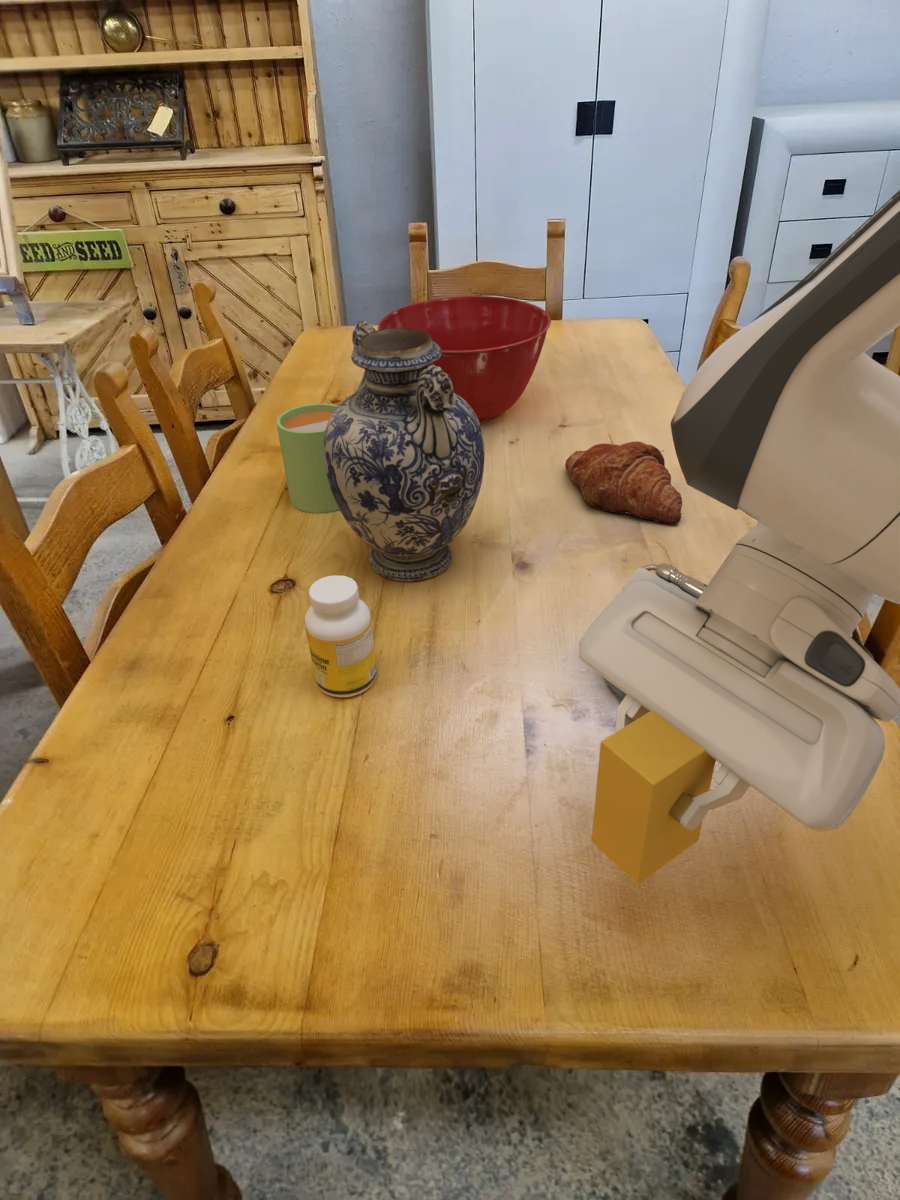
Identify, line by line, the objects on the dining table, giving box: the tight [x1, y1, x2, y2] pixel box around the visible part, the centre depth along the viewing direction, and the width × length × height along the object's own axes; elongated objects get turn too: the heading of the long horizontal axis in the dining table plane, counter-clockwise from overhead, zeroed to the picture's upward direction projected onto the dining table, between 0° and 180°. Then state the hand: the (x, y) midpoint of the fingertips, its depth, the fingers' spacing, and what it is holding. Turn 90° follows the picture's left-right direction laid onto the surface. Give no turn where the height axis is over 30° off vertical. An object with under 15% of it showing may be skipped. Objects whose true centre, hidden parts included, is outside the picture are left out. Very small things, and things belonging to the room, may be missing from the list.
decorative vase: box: [324, 320, 485, 582], centre depth 92 cm, size 21×19×28 cm
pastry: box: [564, 440, 683, 525], centre depth 109 cm, size 17×15×8 cm
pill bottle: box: [304, 574, 378, 698], centre depth 79 cm, size 6×6×12 cm
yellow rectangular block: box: [590, 711, 717, 886], centre depth 53 cm, size 4×6×10 cm
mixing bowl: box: [377, 295, 552, 423], centre depth 135 cm, size 28×28×15 cm
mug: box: [275, 403, 340, 514], centre depth 112 cm, size 13×10×12 cm
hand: (646, 794), depth 52 cm, fingers closed on yellow rectangular block, 4 cm apart
